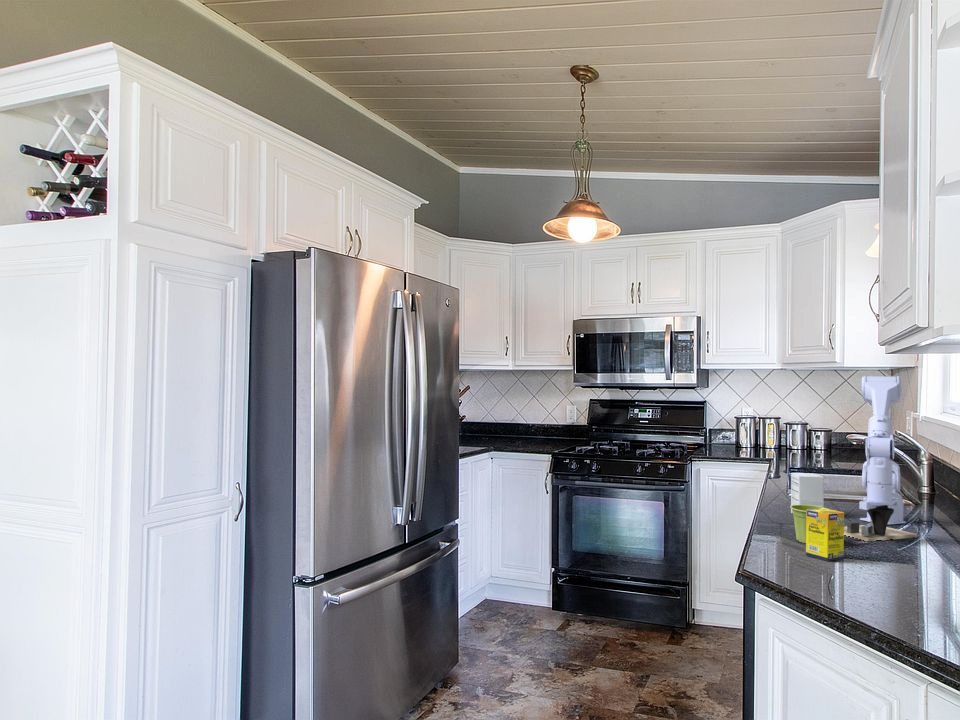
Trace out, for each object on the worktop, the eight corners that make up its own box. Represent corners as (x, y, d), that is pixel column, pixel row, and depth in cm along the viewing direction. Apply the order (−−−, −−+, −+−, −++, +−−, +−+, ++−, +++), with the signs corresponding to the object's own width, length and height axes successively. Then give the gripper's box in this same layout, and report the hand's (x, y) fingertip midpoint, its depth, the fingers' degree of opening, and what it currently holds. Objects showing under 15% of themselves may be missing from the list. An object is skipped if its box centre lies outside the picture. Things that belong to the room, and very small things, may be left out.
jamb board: (874, 527, 199) (874, 514, 199) (917, 537, 187) (917, 524, 187) (826, 531, 193) (826, 518, 193) (868, 541, 181) (868, 528, 181)
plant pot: (835, 542, 180) (835, 508, 180) (823, 548, 173) (823, 513, 173) (797, 536, 186) (797, 503, 186) (784, 541, 179) (784, 507, 179)
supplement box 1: (814, 513, 218) (815, 473, 218) (824, 518, 210) (824, 476, 210) (790, 512, 218) (790, 472, 219) (798, 517, 211) (798, 475, 211)
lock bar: (872, 529, 190) (872, 517, 191) (883, 531, 188) (883, 519, 188) (859, 535, 183) (859, 522, 183) (870, 537, 181) (870, 524, 181)
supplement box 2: (827, 561, 160) (828, 513, 160) (805, 555, 165) (805, 509, 166) (844, 559, 163) (845, 511, 163) (821, 553, 168) (822, 507, 168)
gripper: (881, 479, 190) (880, 529, 190) (848, 482, 183) (848, 534, 183) (907, 482, 184) (907, 534, 184) (874, 486, 177) (874, 540, 177)
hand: (879, 535), depth 183 cm, fingers closed, pressing on lock bar
